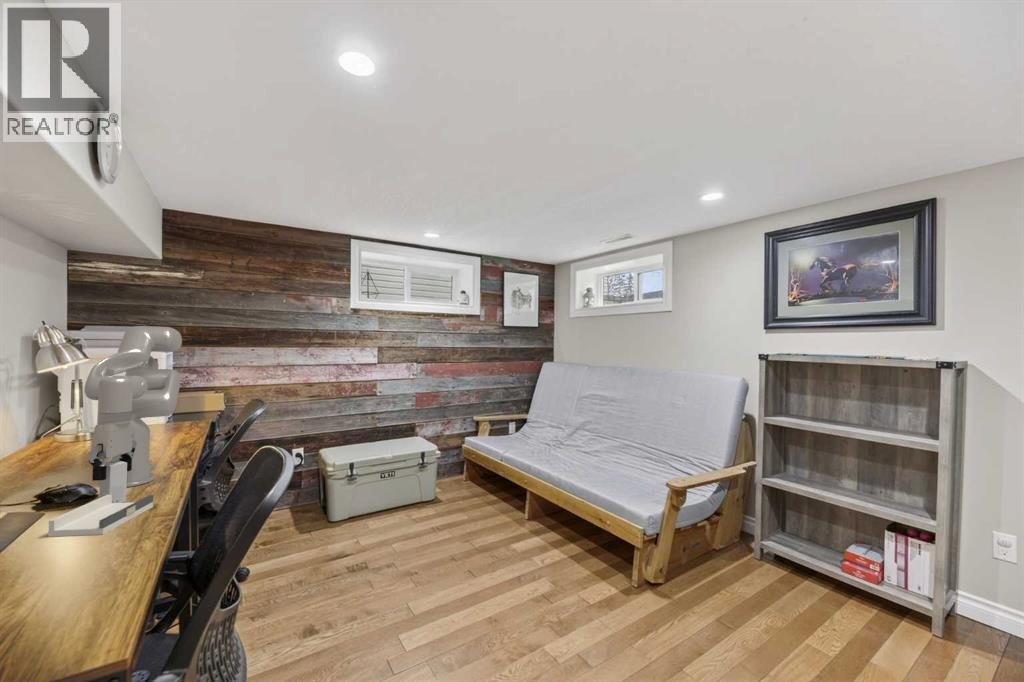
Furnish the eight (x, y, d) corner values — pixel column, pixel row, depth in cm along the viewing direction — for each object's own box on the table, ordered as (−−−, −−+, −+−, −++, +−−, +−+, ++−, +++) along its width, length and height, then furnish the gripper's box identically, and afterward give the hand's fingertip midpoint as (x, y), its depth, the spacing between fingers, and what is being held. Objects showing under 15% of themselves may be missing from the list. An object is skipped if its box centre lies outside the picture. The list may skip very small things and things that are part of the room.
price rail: (149, 501, 123) (149, 495, 123) (153, 501, 123) (154, 494, 123) (99, 528, 106) (99, 520, 106) (104, 528, 106) (104, 520, 106)
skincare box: (126, 501, 127) (127, 462, 127) (108, 506, 123) (109, 465, 123) (116, 498, 129) (117, 459, 130) (98, 502, 126) (99, 463, 126)
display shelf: (106, 508, 122) (107, 494, 122) (152, 506, 123) (153, 493, 123) (48, 536, 104) (48, 520, 104) (103, 534, 106) (103, 518, 106)
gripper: (122, 414, 134) (120, 468, 134) (75, 422, 117) (72, 484, 116) (148, 414, 135) (147, 467, 135) (105, 422, 118) (103, 483, 118)
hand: (112, 475), depth 126 cm, fingers open, 9 cm apart
